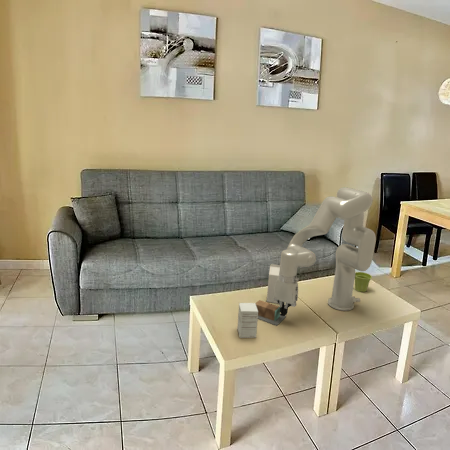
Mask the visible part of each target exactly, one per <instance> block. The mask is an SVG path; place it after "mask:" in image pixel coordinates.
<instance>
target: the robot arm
mask: <svg viewBox="0 0 450 450" xmlns="http://www.w3.org/2000/svg"><path fill="white" fill-rule="evenodd" d="M373 201H374V200H373V195H372V194H370V193H369V192H366V191H363V190H361V189H355V188H351V187H345V186H344V187H340V188H339V189H337V192H336V196H327V197H325V198H324V199H323V200H322V202H321V204H320V206H319V207H318V209H317V211H316V212H315V215H314V216H313V218H312V220H311V222H310V223H309V224H308V225H306V226H304V227H303V228H301V229H300V230H299V231H297V232H296V233H295V234H294V235H293V237H292V238H291V240H290V241H289V243H288V246H287V248H286V249H283V250H282V251H281V253H280V262H279V265H280V270H279V277H278V279H277V281H276V285H275V289H274V300H275V301H277V302H278V303H277V304H278V306H279V307H280V315H281V316H287V315H288V311H289V308H290V307H293V308H294V307H296V306H297V302H298V300H299V283H298V282H299V281H300V278H299V277H298V275H297V274H298V273H297V272H298V268H309V267H312V266H313V265H315V263H316V261H317V256H316V253H314V252H313V251H311V250H310V249H308V248H306V247H304V246H303V245H304V244H305V242H306V241H307V240H309V239H311V238H313V237H317V236H323V235H326V234H328V233H329V232H330V229H331V228H332V225H333V224H334V222H335V220H336V219H340V220H344V221H343V227H342V233H341V234H342V235H341V236H342V239H343V241H344V242H346V243H342V244H340V245H338V246H337V248H336V251H335V272H334V278H333V287H332V292H331V297H329V298H328V300H327V304H328V306H329V307H331V308H332V309H334V310H339V311H344V312H345V311H347V312H348V311H351V310H353V309H354V307H355V305H354V304H355V303H359V302H361V298H360V297H356V296H353V293H354V287H355V273H356V270H357V271H358V272H366V271H368V270H369V269H370V267H371V265H372V261H373V258H374V252H375V247H376V241H377V235H376V233H375V232H374V230H373V229H370V228H368V227H366V226H364V218H365V212H367V211H369V209H370V208H371V207H372V204H373ZM347 243H348V244H347Z"/></svg>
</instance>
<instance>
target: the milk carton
mask: <svg viewBox="0 0 450 450" xmlns="http://www.w3.org/2000/svg"><path fill="white" fill-rule="evenodd" d="M279 270H280V264H272V263H271V264H270V265H269V272H268V273H269V274H268V279H267V280H268V282H267V293H266V302H267V303H271V304H279V303H278V302H277V301H275V300H274V289H275V285H276V281H277V279H278V277H279Z"/></svg>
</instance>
